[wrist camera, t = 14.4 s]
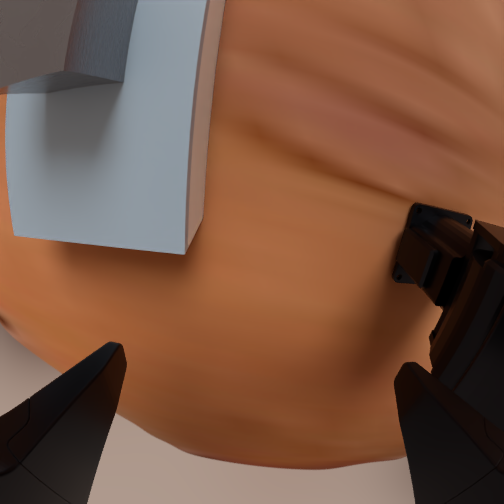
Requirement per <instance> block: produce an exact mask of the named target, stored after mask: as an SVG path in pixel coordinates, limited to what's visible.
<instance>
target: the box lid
mask: <svg viewBox="0 0 504 504" xmlns="http://www.w3.org/2000/svg"><path fill="white" fill-rule="evenodd" d="M209 4H210V0H138V3H137V7H136V12H135V17H134V21H133V26H132V32H131V37H130V43H129V49H128V56H127V62H126V70H125V78H124V83H113V84H104V85H95V86H87V87H80V88H74V89H68V90H62V91H56V92H51V93H46V94H7V106H6V130H5V147H6V172H7V185H8V195H9V204H10V211H11V218H12V225H13V230H14V236H22V237H30V238H39V239H47V240H56V241H64V242H73V243H82V244H91V245H100V246H109V247H118V248H127V249H136V250H145V251H154V252H164V253H173V254H183V255H185V253H186V251H187V249H188V222H189V196H190V176H191V160H192V146H193V133H194V121H195V110H196V100H197V91H198V82H199V73H200V65H201V57H202V50H203V43H204V36H205V29H206V23H207V16H208V10H209Z"/></svg>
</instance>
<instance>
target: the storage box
mask: <svg viewBox="0 0 504 504" xmlns="http://www.w3.org/2000/svg"><path fill="white" fill-rule="evenodd" d="M225 1H226V0H210V4H209V10H208V16H207V23H206V29H205V36H204V43H203V50H202V57H201V65H200V73H199V82H198V91H197V100H196V110H195V121H194V133H193V146H192V160H191V176H190V196H189V222H188V247H189V245H190V243H191V241H192V239H193V237H194V235H195V233H196V231H197V229H198V227H199V225H200V223H201V221H202V219H203V210H204V193H205V178H206V164H207V151H208V139H209V128H210V117H211V107H212V98H213V89H214V80H215V71H216V63H217V55H218V48H219V41H220V33H221V27H222V20H223V13H224V7H225Z"/></svg>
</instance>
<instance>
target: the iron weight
mask: <svg viewBox="0 0 504 504" xmlns="http://www.w3.org/2000/svg"><path fill="white" fill-rule="evenodd" d="M137 3H138V0H0V94H46V93H51V92H56V91H62V90H68V89H74V88H80V87H87V86H95V85H104V84H113V83H124V78H125V70H126V62H127V56H128V49H129V43H130V37H131V32H132V26H133V21H134V17H135V12H136V7H137Z"/></svg>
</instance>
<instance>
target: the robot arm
mask: <svg viewBox="0 0 504 504" xmlns="http://www.w3.org/2000/svg"><path fill="white" fill-rule="evenodd" d="M418 207H419V211H418V212H416V210H417V208H418ZM467 220H468V221H467ZM466 221H467V223H466ZM472 221H473V220H472V217H471V216H469V215H467V214H463V213H460V212H456V211H452V210H448V209H444V208H439V207H435V206H431V205H427V204H422V203H414V204H413V205H412V208H411V211H410V215H409V219H408V223H407V227H406V229H405V231H404V234H403V237H402V241H401V244H400V248H399V251H398V254H397V258H396V260H397V261H396V264H395V267H394V270H393V273H392V278H393V280H394V281H395V282H397V283H410V284H417V286H418V287H419V288H422V289H423V291H424V292H425V293H426V294H427V296H428V297H429V298H430V299H431V300H432V302H433V303H434V304H435V305H436V306H440V307H441V309H442V310H443V312H442V314H441V316H440V319H439V321H438V323H437V325H436V327H435V329H434V330H432V332H431V334H430V336H429V340H430V345H431V347H430V354H429V356H430V360H431V364H432V367H433V368H432V370H431V374H432V375H431V374H430V373H429V372H428V371H426V370H425V369H424V368H423V367H421V366H420V365H419V364H418V363H416V362H406V363H404V364H403V365H402V367H401V369H400V370H399V372H398V374H397V376H396V377H395V380H394V389H395V395H396V402H397V409H398V416H399V422H400V427H401V431H402V436H403V440H404V445H405V449H406V454H407V458H408V463H409V469H410V474H411V479H412V485H413V491H414V497H415V504H504V228H503V227H500V226H496V225H493V224H489V223H485V222H482V221H478V220H475V223H474V227H473V229H474V232H473V231H472V230H470V229H471V225H472ZM399 274H400V276H399V277H397V275H399ZM126 368H127V362H126V357H125V353H124V349H123V346H122V344H120V343H116V342H108V343H106V344H105V345H103V346H102V347H101V348H99V349H98V350H96V351H95V352H93V353H92V354H91V355H89V356H88V357H86V358H85V359H83V360H82V361H81V362H79V363H78V364H76V365H75V366H73V367H72V368H71V369H69V370H68V371H66V372H65V373H63V374H62V375H61V376H59V377H58V378H56V379H55V380H53V381H52V382H51V383H50V384H48V385H46V386H45V387H44V388H42V389H41V390H39V391H38V392H37V393H35V394H34V395H33V396H31V397H30V399H29V398H28V399H26V400H25V401H24V402H22V403H21V404H19V405H18V406H17V407H15V408H13V409H12V410H10V411H9V412H7V413H6V414H4V415H2V416H0V504H87V502H88V498H89V495H90V491H91V487H92V484H93V480H94V477H95V474H96V470H97V467H98V464H99V461H100V457H101V454H102V451H103V448H104V445H105V442H106V439H107V436H108V433H109V430H110V427H111V424H112V421H113V418H114V416H115V413H116V409H117V406H118V402H119V397H120V393H121V389H122V384H123V380H124V376H125V372H126Z"/></svg>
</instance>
